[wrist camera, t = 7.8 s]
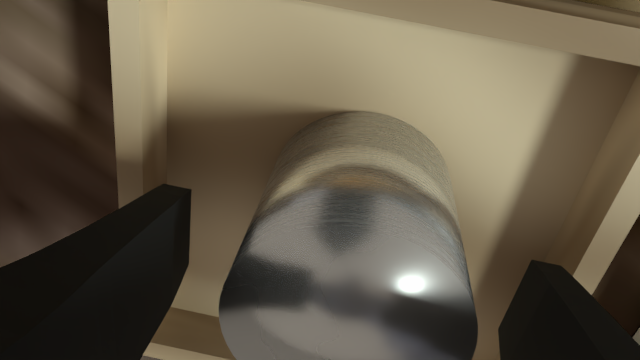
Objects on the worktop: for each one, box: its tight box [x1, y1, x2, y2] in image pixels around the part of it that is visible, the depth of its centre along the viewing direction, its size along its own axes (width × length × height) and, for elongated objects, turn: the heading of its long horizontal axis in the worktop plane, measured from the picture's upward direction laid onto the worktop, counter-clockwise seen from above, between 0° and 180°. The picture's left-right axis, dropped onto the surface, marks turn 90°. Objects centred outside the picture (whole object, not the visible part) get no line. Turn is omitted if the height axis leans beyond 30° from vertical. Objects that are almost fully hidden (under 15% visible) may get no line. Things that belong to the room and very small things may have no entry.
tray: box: [108, 0, 640, 360], centre depth 12 cm, size 11×11×2 cm
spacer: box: [218, 111, 478, 360], centre depth 11 cm, size 4×4×4 cm
